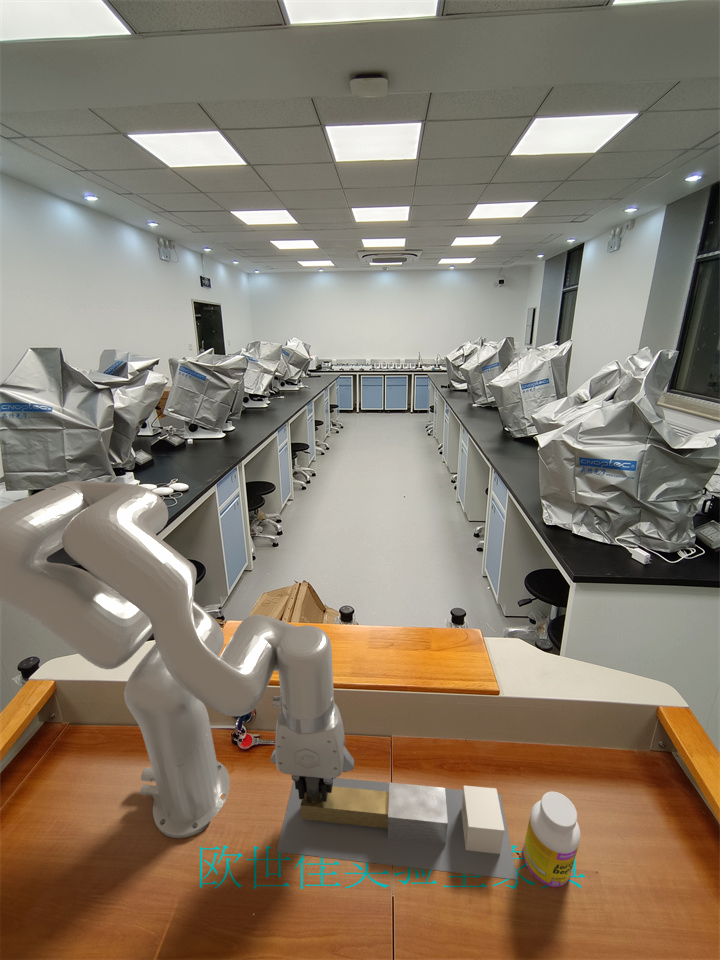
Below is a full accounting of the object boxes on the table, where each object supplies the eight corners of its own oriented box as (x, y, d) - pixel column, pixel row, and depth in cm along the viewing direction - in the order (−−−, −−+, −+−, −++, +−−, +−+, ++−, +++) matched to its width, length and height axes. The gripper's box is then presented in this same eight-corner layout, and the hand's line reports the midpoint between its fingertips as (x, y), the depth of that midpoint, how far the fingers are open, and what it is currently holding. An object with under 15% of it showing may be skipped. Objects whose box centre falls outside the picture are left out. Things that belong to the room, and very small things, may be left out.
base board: (277, 856, 66) (276, 851, 65) (295, 778, 77) (295, 773, 76) (516, 884, 62) (517, 879, 62) (499, 798, 73) (500, 793, 73)
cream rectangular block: (465, 850, 65) (468, 826, 63) (461, 808, 71) (463, 785, 69) (500, 853, 65) (504, 830, 63) (493, 811, 70) (496, 788, 68)
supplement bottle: (548, 902, 60) (562, 845, 56) (512, 853, 66) (523, 798, 61) (579, 875, 63) (595, 818, 58) (543, 830, 68) (555, 776, 64)
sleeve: (387, 838, 67) (388, 817, 65) (389, 803, 71) (389, 782, 70) (445, 844, 66) (447, 823, 64) (443, 808, 71) (444, 787, 69)
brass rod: (301, 819, 69) (298, 781, 65) (306, 797, 72) (303, 760, 69) (439, 834, 66) (442, 795, 63) (437, 810, 70) (440, 773, 66)
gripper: (245, 724, 59) (257, 811, 66) (361, 734, 58) (362, 822, 64) (262, 681, 66) (272, 763, 73) (366, 689, 65) (367, 772, 71)
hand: (314, 790), depth 68 cm, fingers closed on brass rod, 3 cm apart
